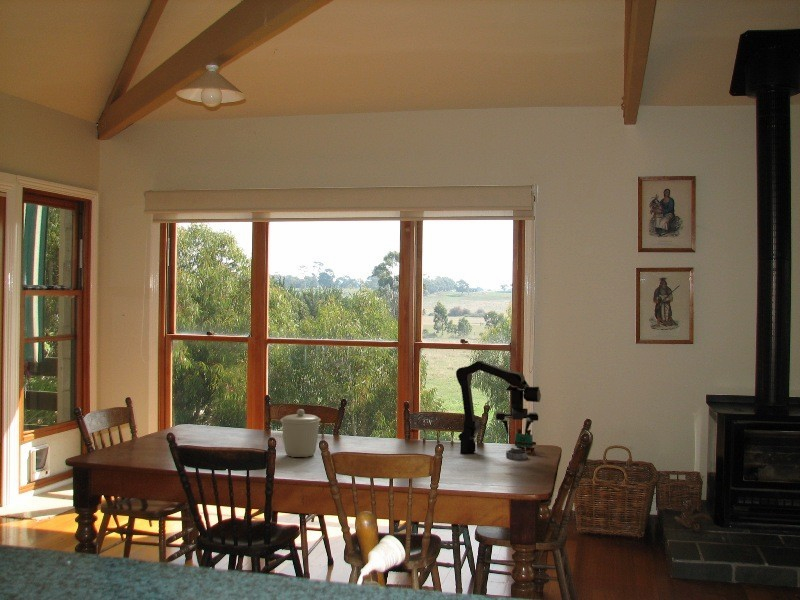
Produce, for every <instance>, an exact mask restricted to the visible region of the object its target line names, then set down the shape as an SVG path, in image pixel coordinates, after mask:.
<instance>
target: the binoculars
mask: <svg viewBox="0 0 800 600" xmlns="http://www.w3.org/2000/svg"><path fill="white" fill-rule="evenodd" d="M516 431H517V432H515V438H514V439H515V440H514V446H515V447H516V448H521V449H522V450H523V451H526V452H527V454H528V453H532V451H535V447H533V446H536V445H537V442H536V441H533V434H531V432H532V430H531V429H528V431H527V434H526V436H525V433H522V429H521V428H517V430H516Z"/></svg>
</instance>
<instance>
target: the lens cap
mask: <svg viewBox="0 0 800 600" xmlns="http://www.w3.org/2000/svg"><path fill="white" fill-rule="evenodd" d="M510 450H511V453H513V454H521V453H522V449H521V448H517V447H511V448H510Z"/></svg>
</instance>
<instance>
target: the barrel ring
mask: <svg viewBox="0 0 800 600" xmlns="http://www.w3.org/2000/svg"><path fill="white" fill-rule="evenodd" d="M505 457H506V459H509V460H514V461H515V460H518V461H523V460H526V459H528V453H527V452H526V451H525V450H522V453H521V454H513V453H511V449H509V450H508V449H507V450H505Z"/></svg>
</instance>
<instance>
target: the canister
mask: <svg viewBox="0 0 800 600" xmlns="http://www.w3.org/2000/svg"><path fill="white" fill-rule="evenodd" d="M321 420H322V419H321V418H320V417H318V416H317V415H315V414H308V413H305V410H304V408H303V409H302V408H298V409H297V411H296V413H294V414H288V415H285V416H283V417H282V418H280V420H279V421H280V422H281V428H282V437H283V445H284V452H285V454H286V455H287V456H288V457H290V456H291V457H290V458H294V457H305V458H310V457H311V456H314V455H315V454H316V450H317V444H318V437H319V436H318V435H319V427H320V422H321ZM309 456H310V457H309Z"/></svg>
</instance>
